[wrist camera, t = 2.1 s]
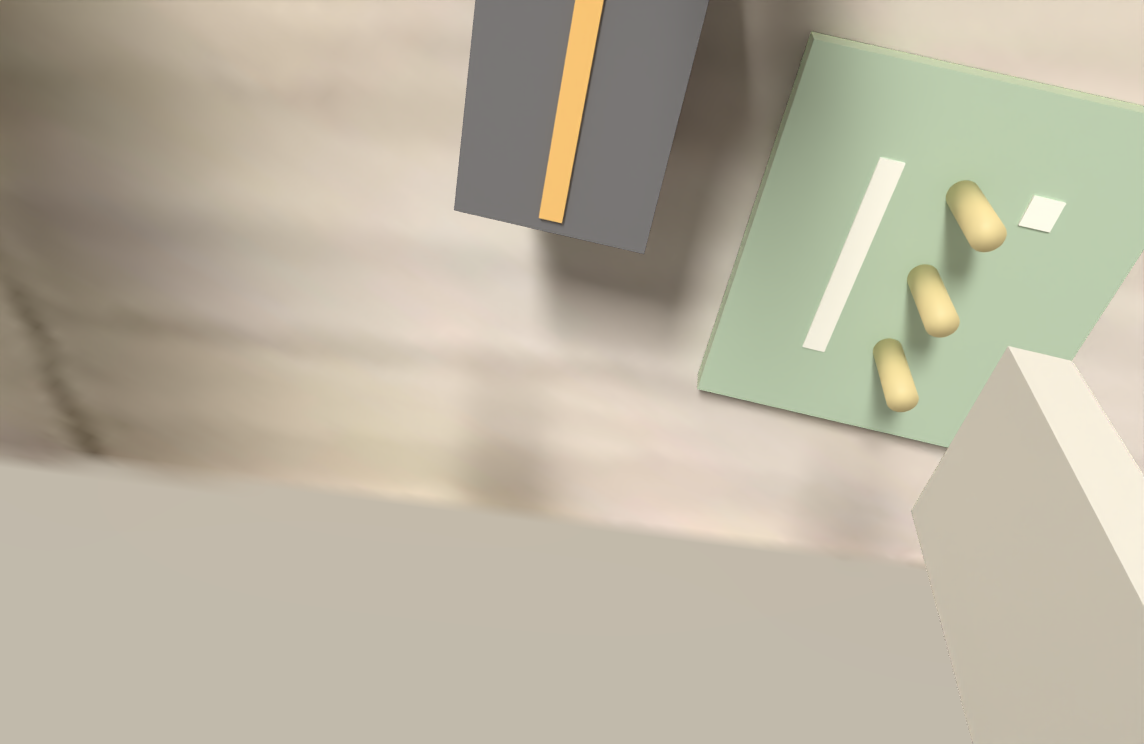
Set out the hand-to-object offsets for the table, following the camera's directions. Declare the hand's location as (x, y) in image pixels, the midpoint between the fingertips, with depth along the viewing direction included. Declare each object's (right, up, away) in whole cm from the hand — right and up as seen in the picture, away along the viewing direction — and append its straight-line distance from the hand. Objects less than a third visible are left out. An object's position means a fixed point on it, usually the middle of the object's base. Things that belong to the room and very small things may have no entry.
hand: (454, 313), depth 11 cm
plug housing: (+3, +11, +15) cm, 19 cm away
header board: (+13, +3, +18) cm, 23 cm away
